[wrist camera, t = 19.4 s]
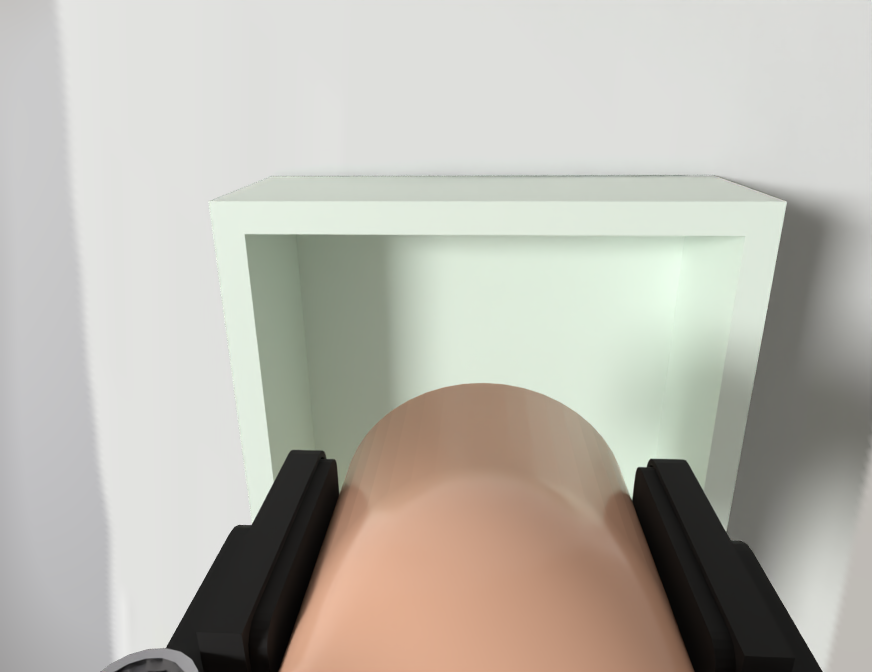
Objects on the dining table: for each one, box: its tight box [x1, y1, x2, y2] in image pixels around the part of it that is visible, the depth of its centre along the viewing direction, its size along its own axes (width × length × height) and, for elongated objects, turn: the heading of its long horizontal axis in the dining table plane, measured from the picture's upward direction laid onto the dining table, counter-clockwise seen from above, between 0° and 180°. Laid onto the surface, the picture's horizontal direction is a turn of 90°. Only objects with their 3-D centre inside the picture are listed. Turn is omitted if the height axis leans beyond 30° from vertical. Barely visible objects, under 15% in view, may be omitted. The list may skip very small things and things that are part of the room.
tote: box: [208, 175, 787, 532], centre depth 21 cm, size 18×14×5 cm
